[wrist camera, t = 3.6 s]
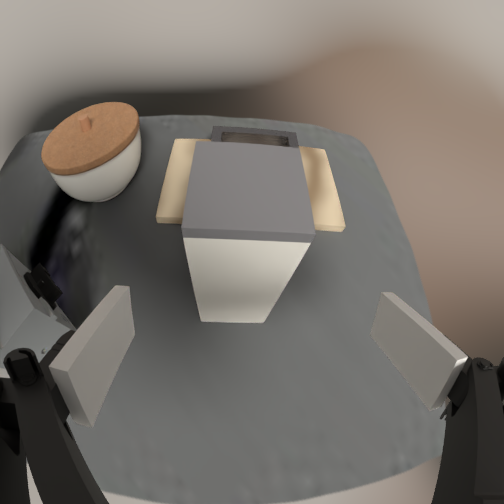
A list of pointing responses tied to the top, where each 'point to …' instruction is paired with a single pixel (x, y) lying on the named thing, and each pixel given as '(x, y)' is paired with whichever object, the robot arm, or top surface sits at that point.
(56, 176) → the lidded bowl
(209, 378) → the top surface
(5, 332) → the circuit breaker
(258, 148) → the power strip
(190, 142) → the mount board
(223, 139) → the socket collar
